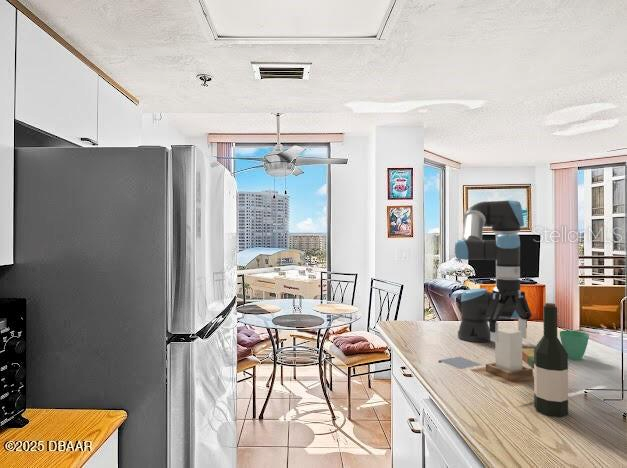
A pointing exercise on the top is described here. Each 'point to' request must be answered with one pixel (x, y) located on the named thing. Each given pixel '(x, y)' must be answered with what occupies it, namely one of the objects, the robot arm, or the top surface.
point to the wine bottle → (550, 369)
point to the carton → (528, 357)
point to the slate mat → (459, 362)
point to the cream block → (509, 350)
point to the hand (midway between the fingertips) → (508, 339)
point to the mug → (574, 343)
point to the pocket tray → (507, 374)
